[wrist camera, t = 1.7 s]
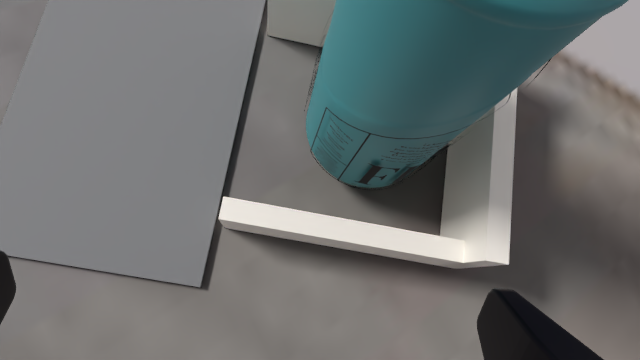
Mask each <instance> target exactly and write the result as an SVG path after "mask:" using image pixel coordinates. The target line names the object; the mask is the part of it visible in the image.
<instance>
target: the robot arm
mask: <svg viewBox="0 0 640 360" xmlns="http://www.w3.org/2000/svg"><path fill="white" fill-rule="evenodd" d="M15 292H16V283H15V280H14V276H13V273H12V269H11V266H10V262H9V259H8V256H7V254H6V253H5V252H3V251H1V250H0V324H1V322H2V320H3V318H4V316H5V315H6V313H7V311H8V309H9V307H10V305H11V303H12V301H13V299H14V296H15ZM477 330H478V335H479V339H480V343H481V348H482V352H483V356H484V360H604V359H602V358H601V357H600V356H598V355H597V354H596V353H594V352H593V351H592V350H591V349H589V348H588V347H587V346H585V345H584V344H583V343H582V342H580V341H579V340H578V339H576V338H575V337H574V336H572V335H571V334H570V333H569V332H567V331H566V330H565V329H563V328H562V327H561V326H559V325H558V324H557V323H556V322H554V321H553V320H552V319H550V318H549V317H548V316H547V315H545V314H544V313H543V312H541V311H540V310H539V309H537V308H536V307H535V306H534V305H532V304H531V303H530V302H528V301H527V300H526V299H525V298H523V297H522V296H521V295H519V294H518V293H517V292H515V291H513V290H510V289H498V288H495V289H492V290H491V291H489V293H488V295H487V297H486V300H485V302H484V304H483V307H482V309H481V311H480V313H479V316H478V319H477Z"/></svg>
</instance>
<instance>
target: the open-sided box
mask: <svg viewBox="0 0 640 360" xmlns="http://www.w3.org/2000/svg"><path fill="white" fill-rule="evenodd" d="M335 3H336V0H268V9H267V35H269V36H273V37H278V38H282V39H287V40H292V41H296V42H301V43H306V44H310V45H315V46H319V47H320V46H324V42H325V39H326V36H327V33H328V30H329V27H330V24H331V20H332V15H333V13H332V12H333V10H334V7H335ZM330 15H331V16H330ZM329 17H330V18H329ZM326 24H327V25H326ZM325 26H326V27H325ZM324 28H325V29H324ZM323 31H324V32H323ZM322 34H323V35H322ZM324 35H326V36H324ZM321 37H322V38H323V37H325V38H323V39H324V40H323V39H322V38H321ZM320 40H323V41H320ZM319 44H321V45H319ZM509 95H510V94H509ZM509 95H508V96H506V97H505V98H504V99H503V100H501V101H500V102H499V103H498V104H496V105H495V106H494V107H493V108H491V109H490V110H489V111H488V112H486V113H485V114H484V115H483V116H481V117H480V118H479V119H478V120H476V121H475V122H474V123H473V124H472V125H470V126H469V127H468V128H466V129H465V130H464V131H463V132H461V133H460V134H459V135H457V136H456V137H455V138H454V139H455V140H454V139H452V141H453V142H452V141H450V142H449V143H448V144H449V145H450V144H451V143H452V144H453V145H452V146H451V145H450V146H449V147H448V151H447V162H446V173H445V184H444V195H443V206H442V217H441V228H440V236H436V235H431V234H426V233H420V232H415V231H409V230H404V229H398V228H393V227H387V226H382V225H377V224H371V223H366V222H360V221H355V220H349V219H344V218H338V217H333V216H327V215H322V214H317V213H311V212H306V211H300V210H295V209H289V208H284V207H278V206H273V205H268V204H262V203H257V202H251V201H246V200H240V199H235V198H229V197H224V196H223V200H222V205H221V209H220V214H219V218H218V219H219V221H220V222H221V223H222V225H223V226H224V228H228V229H234V230H239V231H245V232H251V233H256V234H262V235H268V236H273V237H279V238H285V239H290V240H296V241H301V242H307V243H313V244H318V245H324V246H330V247H335V248H341V249H346V250H352V251H358V252H363V253H369V254H375V255H380V256H386V257H391V258H397V259H403V260H408V261H414V262H420V263H425V264H431V265H437V266H442V267H448V268H453V269H460V268H473V267H485V266H498V265H509V251H510V230H511V209H512V188H513V167H514V146H515V125H516V104H517V88H516V89H515V90H514V91H512V92H511V96H510V99H509ZM508 99H509V100H508ZM511 99H512V100H511ZM507 101H508V102H507ZM506 102H507V103H506ZM505 103H506V104H505ZM504 104H505V105H504ZM503 105H504V106H503ZM502 106H503V107H502ZM501 107H502V108H501ZM499 108H500V109H499ZM497 109H498V110H497ZM496 110H497V111H496ZM493 112H494V113H493ZM490 114H491V115H490ZM485 117H486V118H485ZM483 118H484V119H483ZM481 119H482V120H481ZM479 120H480V121H479ZM477 121H478V122H477ZM469 131H470V132H469ZM460 136H461V137H460ZM457 137H459V138H460V139H459V138H457ZM456 138H457V139H456ZM455 141H457V142H456V143H454V142H455Z"/></svg>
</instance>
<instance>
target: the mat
mask: <svg viewBox="0 0 640 360" xmlns="http://www.w3.org/2000/svg"><path fill="white" fill-rule="evenodd" d="M265 3H266V0H48V3H47V5H46V8H45V10H44V13H43V16H42V18H41V21H40V24H39V26H38V29H37V31H36V34H35V37H34V39H33V42H32V45H31V47H30V50H29V52H28V55H27V58H26V60H25V63H24V66H23V68H22V71H21V73H20V76H19V79H18V81H17V84H16V87H15V89H14V92H13V95H12V97H11V100H10V102H9V105H8V108H7V110H6V113H5V116H4V118H3V121H2V123H1V126H0V250H1V251H3V252H5V253H6V254H7V255H8V256H14V257H20V258H26V259H32V260H38V261H44V262H50V263H56V264H62V265H68V266H74V267H80V268H87V269H93V270H99V271H105V272H111V273H117V274H123V275H129V276H135V277H141V278H147V279H153V280H159V281H165V282H171V283H177V284H183V285H189V286H195V287H201V285H202V281H203V276H204V272H205V267H206V263H207V259H208V254H209V250H210V245H211V241H212V237H213V232H214V228H215V223H216V219H217V215H218V210H219V206H220V201H221V197H222V193H223V188H224V184H225V179H226V175H227V171H228V166H229V162H230V157H231V153H232V149H233V144H234V140H235V135H236V131H237V127H238V122H239V118H240V113H241V109H242V105H243V100H244V96H245V91H246V87H247V83H248V78H249V74H250V69H251V65H252V61H253V56H254V52H255V47H256V43H257V39H258V34H259V30H260V25H261V21H262V17H263V12H264V8H265Z"/></svg>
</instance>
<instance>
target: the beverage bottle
mask: <svg viewBox="0 0 640 360" xmlns="http://www.w3.org/2000/svg"><path fill="white" fill-rule="evenodd" d="M627 1H628V0H336V3H335V7H334V10H333V12H332V13H333V15H332V20H331V24H330V27H329V30H328V33H327V36H326V35H324V36H326V39H325V42H324V46H320V47H323V50H322V52H319V53H322V54H320V55H321V57H320V58H321V59H320V63H319V67H318V71H317V75H314V76H316V77H315V82H314V86H313V88H312V87H311V88H312V89H313V92H311V93H312V96H311V100H310V104H309V108H308V112H307V118H306V131H307V137H308V141H309V144H310V147H311V150H312V151H313V153H314V155H315V157H316V158H317V160H318V161H319V162H320V164H321V165H322V166H323V167H324V168H325V169H326V170H327V171H328V172H329V173H330V174H332V175H333V176H334V177H336V178H337V180H338V181H339V180H341V181H343V182H345V183H348V184H351V185H354V186H358V187H364V188H378V187H384V186H388V185H391V184H394V183H397V182H400V180H401V179H403V178H404V177H406V176H407V175H408V174H410V173H411V172H412V171H413V170H415V169H416V168H417V167H418V166H420V165H421V166H422V163H424V162H425V161H426V160H427V159H428V161H429V158H430V159H431V158H432V159H433V157H435V156H436V155H438V154H441V153H442V152H444V151H445V150H446V149H447V148H448V147H449V146H450V145H451V146H452V145H453V144H452V143H451V144H450V145H449V144H448V143H449V142H450V141H452V139H454V138H455V137H456V136H457V135H459V134H460V133H461V132H463V131H464V130H465V129H466V128H468V127H469V126H470V125H472V124H473V123H474V122H475V121H476V120H478V119H479V118H480V117H481V116H483V115H484V114H485V113H486V112H488V111H489V110H490V109H491V108H493V107H494V106H495V105H496V104H498V103H499V102H500V101H501V100H503V99H504V98H505V97H506V96H508V95H509V94H510V95H509V99H510V96H511V92H512V91H514V90H515V89H516V88H517V87H518V86H519V85H521V84H522V83H523V82H524V81H525V80H526V79H527V78H528V77H529V76H530V75H531V74H532V73H534V72H535V71H536V70H537V69H538V68H540V67H541V66H542V65H543V64H545V63H546V62H547V61H548V60H549V59H550V60H551V58H552V57H553V56H554V55H556V54H557V53H558V52H559V51H561V50H562V49H563V48H564V47H565V46H567V45H568V44H569V43H570V42H572V41H573V40H574V39H575V38H576V37H578V36H579V35H580V34H581V33H583V32H584V31H585V30H586V29H587V28H589V27H590V26H591V25H592V24H594V23H595V22H596V21H597V20H599V19H600V18H601V17H602V16H604V15H606V14H608V13H610V12H612V11H613V10H615V9H617V8H619V7H620V6H622V5H623V4H624V3H626V2H627ZM330 16H331V15H330ZM329 18H330V17H329ZM326 25H327V24H326ZM325 27H326V26H325ZM324 29H325V28H324ZM323 32H324V31H323ZM322 35H323V34H322ZM321 38H322V37H321ZM323 38H325V37H323ZM323 38H322V39H323ZM323 40H324V39H323ZM323 40H320V41H323ZM319 45H321V44H319ZM320 47H319V48H320ZM321 49H322V48H321ZM318 51H320V50H318ZM318 55H319V54H318ZM318 58H319V57H318ZM316 60H317V58H316ZM550 60H549V61H550ZM549 61H548V62H549ZM317 62H319V61H317ZM315 63H316V62H315ZM547 64H548V63H547ZM547 64H546V65H547ZM315 65H317V63H316V64H315ZM546 65H545V66H546ZM545 66H544V67H545ZM314 68H315V67H314ZM316 70H317V69H316ZM542 70H543V69H542ZM542 70H541V71H542ZM541 71H540V72H541ZM315 72H316V71H315ZM540 72H539V73H540ZM313 73H314V71H313ZM315 74H316V73H315ZM312 76H313V75H312ZM537 76H538V75H537ZM537 76H536V77H537ZM536 77H535V78H536ZM535 78H534V79H535ZM311 81H312V80H311ZM313 81H314V80H313ZM310 85H312V83H311V84H310ZM309 90H310V89H309ZM311 91H312V90H311ZM308 95H309V93H308ZM310 95H311V94H310ZM517 95H518V94H517ZM307 98H308V97H307ZM509 99H508V100H509ZM511 100H512V99H511ZM307 101H308V100H307ZM307 101H306V103H307ZM507 102H508V101H507ZM507 102H506V103H507ZM506 103H505V104H506ZM505 104H504V105H505ZM504 105H503V106H504ZM503 106H502V107H503ZM305 107H306V106H305ZM502 107H501V108H502ZM499 109H500V108H499ZM497 110H498V109H497ZM497 110H496V111H497ZM304 111H305V110H304ZM493 113H494V112H493ZM490 115H491V114H490ZM485 118H486V117H485ZM483 119H484V118H483ZM481 120H482V119H481ZM479 121H480V120H479ZM477 122H478V121H477ZM469 132H470V131H469ZM460 137H461V136H460ZM457 138H459V137H457ZM457 138H456V139H457ZM459 139H460V138H459ZM454 140H455V139H454ZM452 142H453V141H452ZM456 142H457V141H455V142H454V143H456ZM446 144H448V146H446V147H445V145H446ZM442 147H444V148H442ZM441 148H442V149H441ZM311 153H312V152H311ZM313 157H314V156H313ZM435 158H436V157H435ZM314 159H315V158H314ZM432 159H431V160H432ZM315 160H316V159H315ZM430 162H431V161H430ZM317 163H318V162H317ZM318 164H319V163H318ZM424 164H425V163H424ZM426 165H427V164H426ZM421 169H422V168H421ZM417 171H419V170H417ZM328 172H327V173H328ZM329 173H328V174H329ZM416 173H417V172H416ZM330 174H329V175H330ZM414 174H415V173H414ZM333 176H332V177H333ZM334 177H333V178H334ZM410 177H411V176H410ZM410 177H408V178H410ZM336 178H335V179H336ZM404 180H405V179H404ZM406 180H407V178H406ZM341 181H340V182H341ZM402 181H403V180H402ZM343 182H342V183H343ZM345 183H344V184H345ZM400 183H401V182H400ZM402 183H403V182H402ZM398 184H399V183H398ZM346 185H347V184H346ZM394 185H395V184H394ZM349 186H350V185H349ZM392 186H393V185H392ZM352 187H353V186H352ZM354 188H356V187H354ZM359 189H361V188H359ZM385 189H387V188H385ZM364 190H368V189H364ZM378 190H381V189H378Z"/></svg>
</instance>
